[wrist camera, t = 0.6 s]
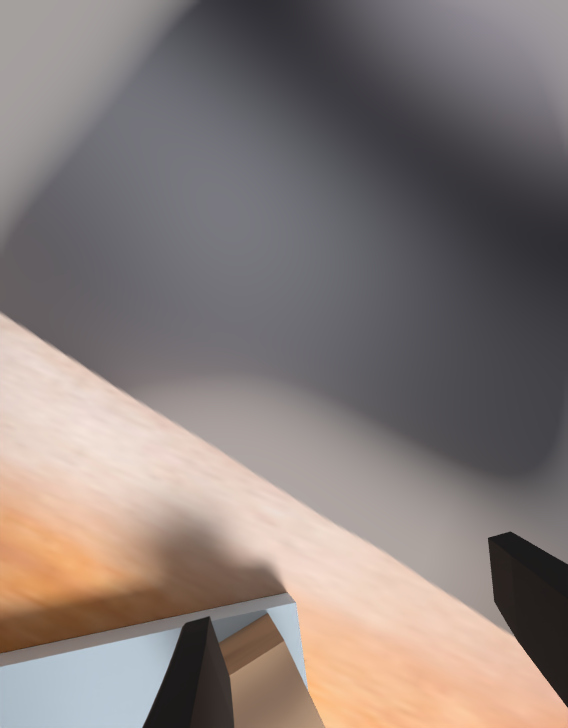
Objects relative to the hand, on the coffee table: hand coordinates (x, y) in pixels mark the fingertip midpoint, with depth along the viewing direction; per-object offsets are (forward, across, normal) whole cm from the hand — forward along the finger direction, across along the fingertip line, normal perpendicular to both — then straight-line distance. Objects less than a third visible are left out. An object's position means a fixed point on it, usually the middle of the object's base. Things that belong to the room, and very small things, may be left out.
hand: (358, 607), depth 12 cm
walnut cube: (+13, +6, +16) cm, 21 cm away
